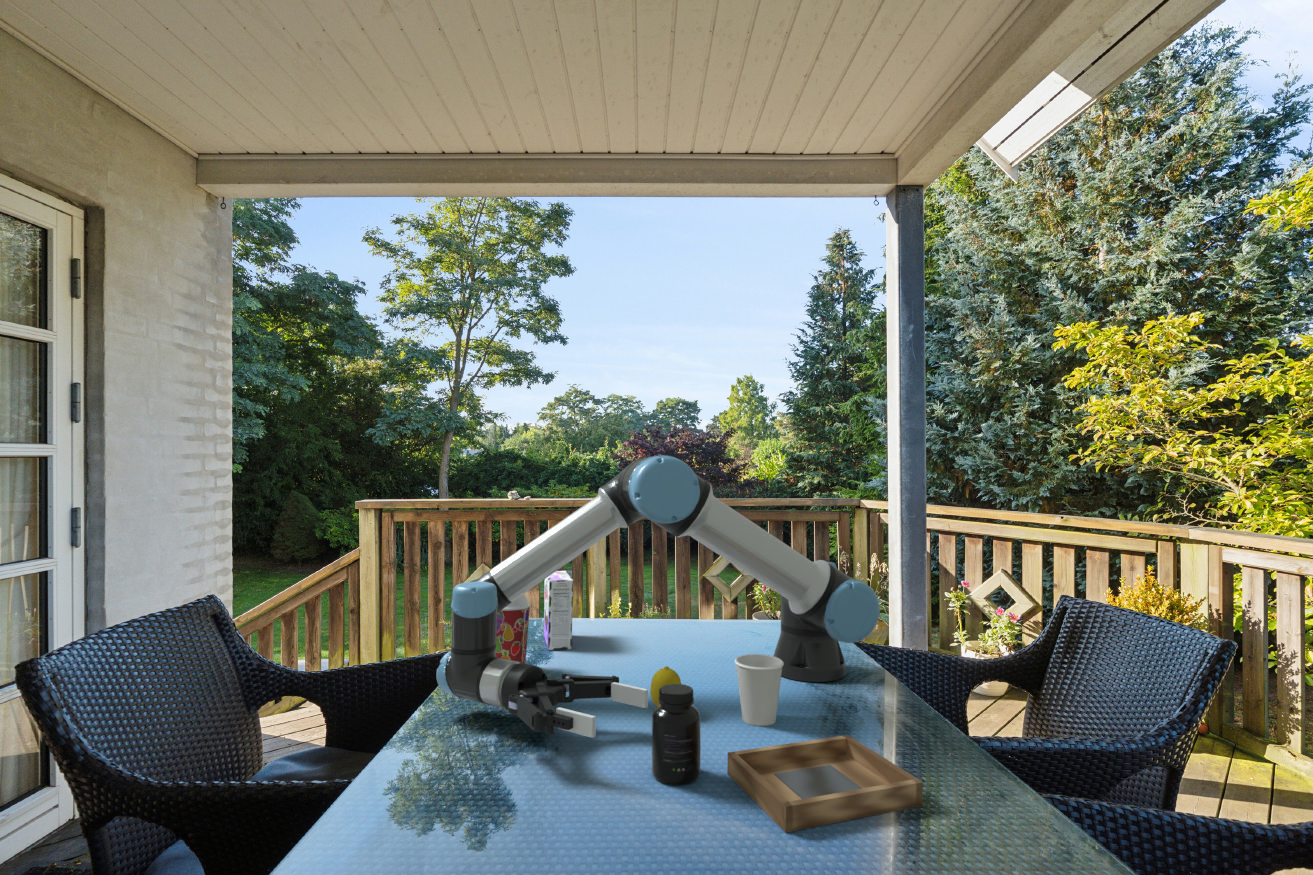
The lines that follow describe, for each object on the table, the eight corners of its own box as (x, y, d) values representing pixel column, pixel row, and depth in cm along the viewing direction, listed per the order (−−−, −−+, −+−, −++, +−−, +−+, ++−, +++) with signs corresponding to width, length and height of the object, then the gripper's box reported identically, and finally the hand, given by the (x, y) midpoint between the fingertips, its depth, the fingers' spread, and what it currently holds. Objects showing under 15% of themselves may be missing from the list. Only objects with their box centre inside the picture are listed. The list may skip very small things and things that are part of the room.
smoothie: (536, 666, 145) (537, 572, 146) (516, 678, 137) (517, 578, 138) (502, 662, 148) (504, 570, 148) (480, 673, 140) (482, 576, 141)
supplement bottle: (649, 765, 98) (650, 681, 98) (696, 763, 99) (697, 680, 99) (653, 787, 91) (654, 697, 92) (703, 786, 92) (704, 696, 92)
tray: (848, 754, 102) (848, 734, 102) (922, 805, 87) (922, 781, 87) (727, 774, 95) (727, 752, 95) (785, 832, 80) (785, 806, 80)
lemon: (678, 719, 116) (679, 672, 116) (647, 716, 117) (647, 669, 117) (684, 708, 121) (684, 662, 121) (653, 705, 122) (654, 660, 122)
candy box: (542, 636, 171) (544, 570, 172) (566, 635, 172) (567, 569, 173) (547, 650, 157) (548, 579, 158) (572, 649, 159) (573, 578, 160)
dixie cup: (740, 708, 121) (740, 651, 122) (787, 714, 118) (787, 656, 119) (729, 724, 113) (729, 664, 114) (779, 731, 111) (779, 669, 111)
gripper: (563, 688, 121) (665, 711, 110) (455, 734, 100) (567, 769, 89) (564, 646, 122) (665, 665, 111) (456, 683, 101) (568, 711, 89)
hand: (622, 711), depth 100 cm, fingers open, 13 cm apart
